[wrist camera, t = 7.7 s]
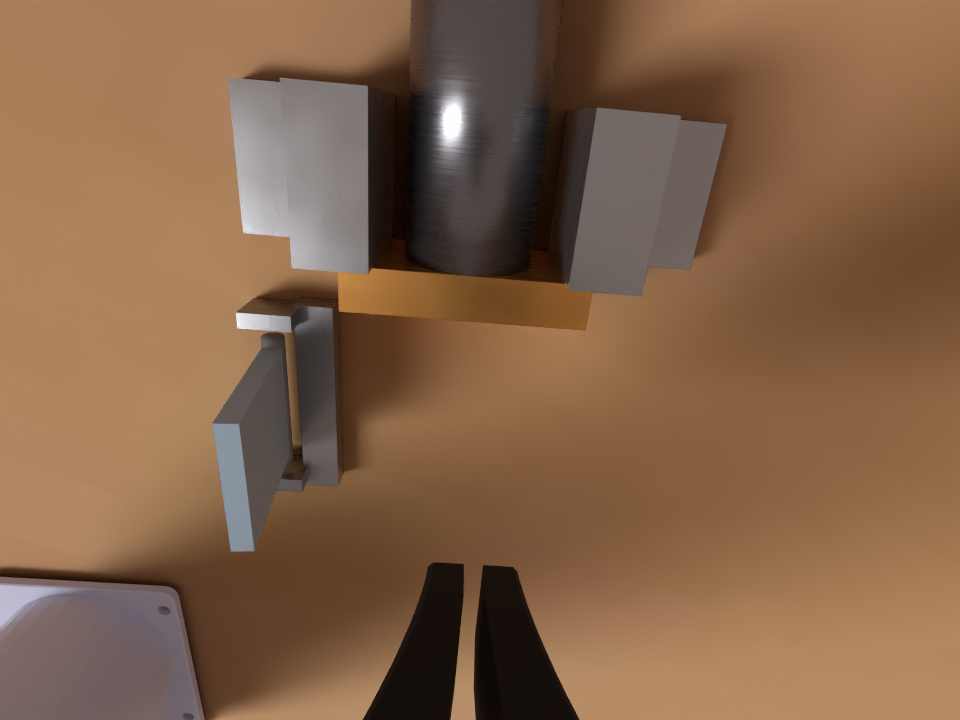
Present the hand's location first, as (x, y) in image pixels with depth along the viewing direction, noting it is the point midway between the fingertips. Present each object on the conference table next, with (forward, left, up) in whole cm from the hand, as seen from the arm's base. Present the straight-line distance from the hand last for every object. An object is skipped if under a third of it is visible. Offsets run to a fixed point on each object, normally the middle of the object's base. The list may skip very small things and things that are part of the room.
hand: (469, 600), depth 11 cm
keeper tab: (0, +6, -8) cm, 10 cm away
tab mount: (0, +5, -8) cm, 10 cm away
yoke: (+8, 0, -8) cm, 11 cm away
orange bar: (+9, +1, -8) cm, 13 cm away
